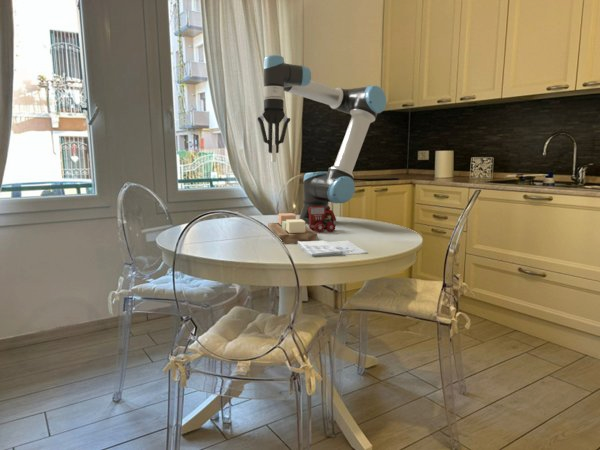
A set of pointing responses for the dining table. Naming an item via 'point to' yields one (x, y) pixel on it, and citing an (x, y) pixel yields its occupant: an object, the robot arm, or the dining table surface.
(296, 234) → the board
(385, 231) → the dining table surface
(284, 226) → the pale green square block
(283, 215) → the salmon orange square block
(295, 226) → the cream yellow square block
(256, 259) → the dining table surface
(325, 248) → the printed paper napkins
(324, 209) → the toy fire truck
